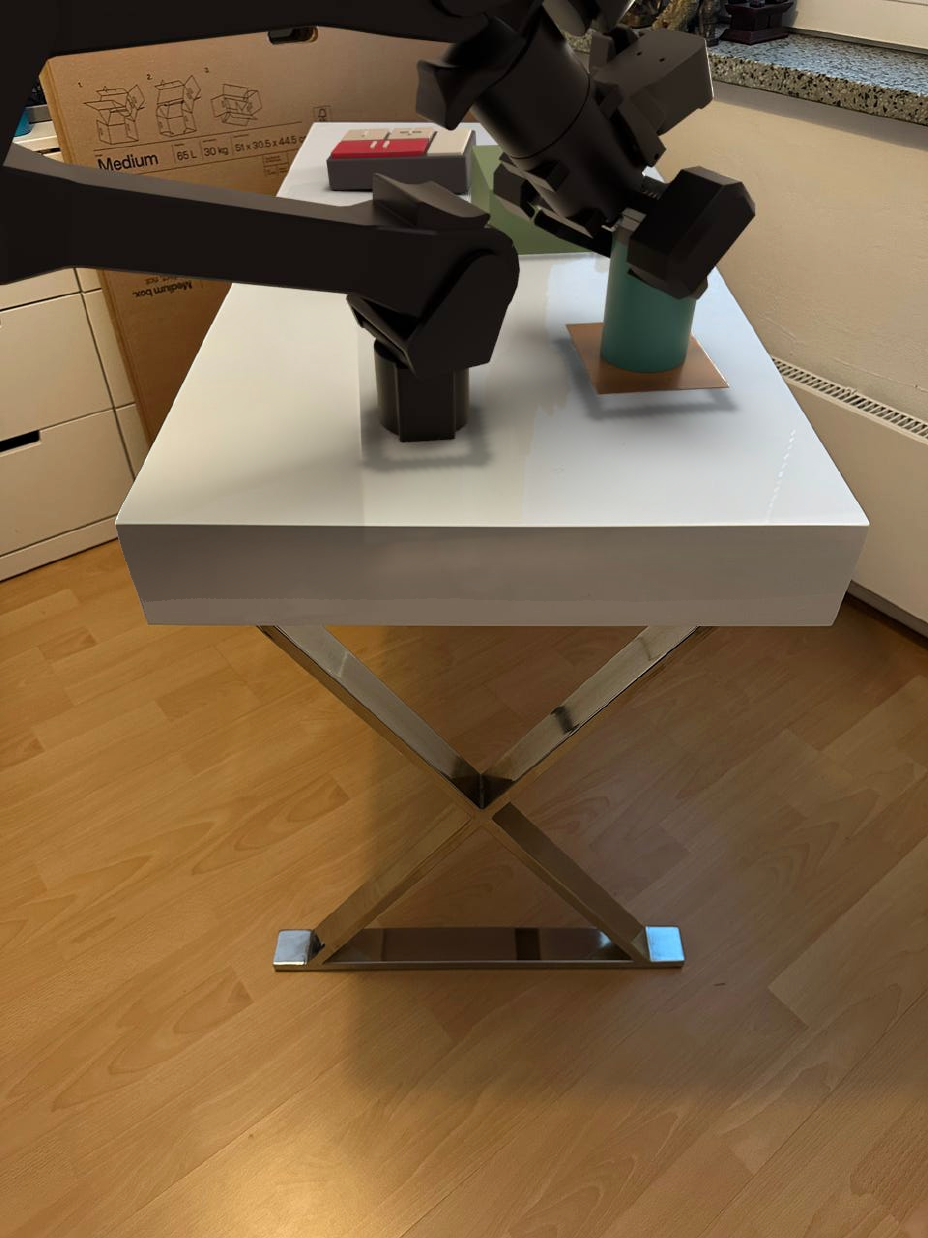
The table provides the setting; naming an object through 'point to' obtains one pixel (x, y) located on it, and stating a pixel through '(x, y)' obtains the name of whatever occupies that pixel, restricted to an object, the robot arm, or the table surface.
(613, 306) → the lunch canister
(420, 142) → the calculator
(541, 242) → the olive green cuboid
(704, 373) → the low shelf
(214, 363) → the table surface
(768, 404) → the table surface
